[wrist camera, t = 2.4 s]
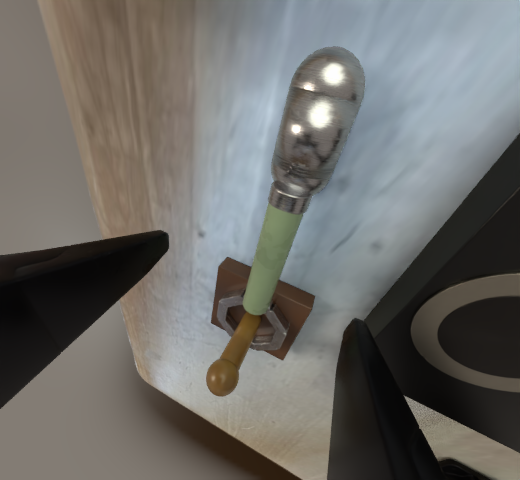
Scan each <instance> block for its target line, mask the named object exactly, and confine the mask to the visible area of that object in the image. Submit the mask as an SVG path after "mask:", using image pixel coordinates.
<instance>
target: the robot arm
mask: <svg viewBox="0 0 520 480" xmlns="http://www.w3.org/2000/svg"><path fill="white" fill-rule="evenodd" d="M168 249H169V235H168V233H166V232H164V231H162V230H157V231H151V232H145V233H139V234H134V235H128V236H122V237H116V238H110V239H105V240H99V241H93V242H87V243H81V244H76V245H71V246H64V247H58V248H52V249H46V250H40V251H31V252H24V253H16V254H8V255H0V409H1V408H2V407H3V406H4V405H5V404H6V403H7V402H8V401H9V400H11V399H12V398H13V397H14V396H15V395H16V394H17V393H18V392H19V391H20V390H21V389H22V388H24V387H25V386H26V385H27V384H28V383H29V382H30V381H31V380H32V379H33V378H34V377H36V376H37V375H38V374H39V373H40V372H41V371H42V370H43V369H44V368H45V367H46V366H47V365H48V364H50V363H51V362H52V361H53V360H54V359H55V358H56V357H57V356H58V355H60V354H61V352H63V350H65V349H66V348H67V347H68V346H69V345H70V344H71V343H72V342H73V341H74V340H75V339H77V338H78V337H79V336H80V335H81V334H82V333H83V332H84V331H85V330H87V329H88V328H89V327H90V326H91V325H92V324H93V323H94V322H95V321H96V320H97V319H98V318H100V317H101V316H102V315H103V314H104V313H105V312H106V311H107V310H108V309H109V308H110V307H111V306H112V305H114V304H115V303H116V302H117V301H118V300H119V299H120V298H121V297H122V296H124V295H125V294H126V293H127V292H128V291H129V290H130V289H131V288H132V287H133V286H134V285H135V284H137V283H138V282H139V281H140V280H141V279H142V278H143V277H144V276H145V275H146V274H147V273H148V272H149V271H150V270H151V269H152V268H153V267H154V265H155V264H156V263H157V262H158V261H159V260H160V259H161V258H162V256H163V255H164V254H165V253H166V252H167V251H168ZM327 480H490V479H488V478H486V477H484V476H483V475H481V474H479V473H477V472H475V471H473V470H471V469H469V468H467V467H466V466H464V465H462V464H460V463H458V462H456V461H453V460H445V461H442V462H438V461H437V459H436V457H435V455H434V453H433V451H432V449H431V448H430V446H429V444H428V442H427V440H426V438H425V436H424V434H423V432H422V430H421V429H419V425H418V423H417V421H416V419H415V417H414V415H413V413H412V411H411V409H410V407H409V405H408V403H407V401H406V400H405V398H404V396H403V394H402V392H401V390H400V388H399V386H398V384H397V382H396V380H395V378H394V376H393V374H392V372H391V370H390V369H389V367H388V365H387V363H386V361H385V359H384V357H383V355H382V353H381V351H380V349H379V347H378V345H377V343H376V341H375V340H374V338H373V336H372V334H371V332H370V330H369V328H368V326H367V324H366V323H365V322H364V321H362V320H359V319H357V318H354V319H353V320H352V321H351V323H350V324H349V325H348V326H347V328H346V329H345V331H344V334H343V339H342V344H341V348H340V353H339V358H338V363H337V369H336V377H335V389H334V401H333V414H332V426H331V438H330V450H329V463H328V475H327Z"/></svg>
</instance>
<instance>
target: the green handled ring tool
mask: <svg viewBox="0 0 520 480" xmlns="http://www.w3.org/2000/svg"><path fill="white" fill-rule="evenodd" d="M364 92H365V76H364V72H363V68H362V66H361V64H360V62H359V60H358V59H357V58H356V57H355V55H354V54H353V53H351V52H350V51H348V50H347V49H344V48H341V47H336V46H333V47H325V48H322V49H319V50H317V51H315V52H313V53H312V54H310V55H309V56H308V57H307V58H306V59H305V60H304V61H303V62H302V63H301V64H300V66H299V67H298V68H297V70H296V72H295V74H294V76H293V78H292V81H291V84H290V86H289V91H288V95H287V99H286V103H285V107H284V112H283V116H282V120H281V124H280V128H279V132H278V137H277V141H276V145H275V149H274V153H273V158H272V164H271V174H272V178H273V180H274V182H273V183H272V185H271V189H270V193H269V197H268V206H267V210H266V214H265V218H264V222H263V225H262V229H261V233H260V237H259V241H258V245H257V249H256V252H255V256H254V260H253V264H252V268H251V272H250V276H249V279H248V283H247V287H246V289H245V288H244V289H240V290H236V291H232V292H227V293H225V294H224V295H223V297H222V298H221V299H220V301H219V305H218V311H217V318H218V321H219V322H220V323H221V325H222V326H223V327H224V329H225V330H226V331H227V333H228V334H229V336H231V337H232V335H233V334H234V332H235V330H236V328H237V327H238V324H237V323H236V321H235V320H234V318H233V317H232V316H231V314H230V309H231V307H232V306H237V305H243V306H244V308H245V310H246V311H247V312H249V313H250V314H253V315H262V314H265V315H266V317H267V318H268V320H269V321H270V323H271V324H272V326H273V328H274V329H275V332H274V335H267V336H256V335H255V336H254V339H253V341H252V343H251V345H250V347H249V348H251V349H253V350H254V349H256V350H257V351H261V350H277V349H280V347H281V345H282V343H283V341H284V339H285V337H286V335H287V333H288V329H289V326H288V325H289V323H288V321H287V320H286V318H285V317H284V315H283V313H282V312H281V310H280V309H279V307H278V306H277V304H276V303H274V304H273V301H272V300H271V299H272V297H273V294H274V291H275V289H276V286H277V283H278V281H279V278H280V275H281V273H282V270H283V267H284V265H285V262H286V259H287V257H288V254H289V251H290V249H291V246H292V243H293V241H294V238H295V235H296V233H297V230H298V227H299V225H300V222H301V219H302V217H303V214H304V213H305V212H306V211H307V209H308V206H309V204H310V201H311V199H312V196H314V195H315V194H317V193H319V192H320V191H321V190H322V189H323V188H324V187H325V186H326V185H327V184H328V182H329V180H330V178H331V176H332V174H333V171H334V169H335V167H336V164H337V162H338V159H339V157H340V154H341V152H342V150H343V147H344V145H345V142H346V140H347V138H348V135H349V133H350V130H351V128H352V125H353V123H354V121H355V118H356V116H357V113H358V111H359V109H360V106H361V103H362V100H363V97H364Z"/></svg>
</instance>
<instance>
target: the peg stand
mask: <svg viewBox="0 0 520 480" xmlns="http://www.w3.org/2000/svg"><path fill="white" fill-rule="evenodd" d="M250 272H251V267H249V266H247V265H244V264H242V263H240V262H238V261H235V260H233V259H231V258H229V257H227V258H226V259H225V260H224V261H223V262H222V263H221V265H220V266H219V268H218V275H217V282H216V290H215V297H214V304H213V311H212V319H211V323H212V324H214V325H216V326H218V327H220V328H222V329H223V330H225V329H224V327H223V326H222V325H221V323H220V322H219V321H218V318H217V311H218V305H219V301H220V299H221V298H222V297H223V295H224V294H225V293H227V292H232V291H236V290H240V289H244V288H245V289H246V287H247V283H248V279H249V276H250ZM314 299H315V296H314V295H312V294H309V293H307V292H305V291H303V290H301V289H298V288H296V287H294V286H292V285H289V284H287V283H285V282H283V281H280V280H279V281H278V283H277V286H276V289H275V291H274V294H273V297H272V299H271V300H272V301H273V304H274V303H276V304H277V306H278V307H279V309H280V310H281V312H282V313H283V315H284V317H285V318H286V320H287V321H288V323H289V325H288V326H289V329H288V333H287V335H286V337H285V339H284V341H283V343H282V345H281V347H280V349H277V350H264V351H266V352H267V353H269V354H271V355H273V356H275V357H277V358H279V359H281V360H284V358H285V356H286V354H287V353H288V351H289V349H290V347H291V346H292V344H293V342H294V340H295V338H296V337H297V335H298V333H299V331H300V330H301V328H302V326H303V324H304V323H305V321H306V319H307V317H308V315H309V314H310V312H311V310H312V307H313V303H314ZM230 314H231V316H232V317H233V318H234V320H235V321H236V323H237V324H238V327H237V328H236V330H235V332H234V334H233V335H232V337H231V339H230V341H229V343H228V344H227V346H226V348H225V350H224V351H223V353H222V355H221V357H220V358H219V359H218V360H216V361H215V362H213V363H212V365H211V366H210V367H209V369H208V372H207V376H206V382H207V386H208V388H209V390H210V391H211V392H212V393H213V394H214V395H216V396H226V395H228V394H230V393H231V392H232V391H233V390H234V389H235V388H236V386H237V383H238V380H239V369H240V367H241V364H242V362H243V360H244V358H245V356H246V354H247V351H248V349H249V347H250V345H251V343H252V341H253V339H254V336H255V335H256V336H267V335H274V332H275V329H274V328H273V326H272V324H271V323H270V321H269V320H268V318H267V317H266V315H265V314H262V315H253V314H250V313H249V312H247V311H246V310H245V308H244V306H243V305H237V306H232V307H231V309H230ZM225 331H226V330H225Z"/></svg>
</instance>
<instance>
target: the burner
mask: <svg viewBox="0 0 520 480" xmlns="http://www.w3.org/2000/svg"><path fill="white" fill-rule="evenodd" d="M410 330H411V337H412V340H413V343H414V345H415V347H416V349H417V350H418V352H419V353H420V354H421V355H422V356H423V357H424V358H425V359H426V360H427V361H428V362H429V363H430V364H432V365H433V366H434V367H436V368H437V369H439V370H441V371H442V372H444V373H446V374H448V375H450V376H452V377H455V378H457V379H459V380H462V381H465V382H468V383H471V384H474V385H478V386H482V387H486V388H491V389H496V390H502V391H509V392H520V272H505V273H496V274H489V275H484V276H479V277H474V278H471V279H467V280H464V281H461V282H458V283H455V284H453V285H450V286H448V287H446V288H444V289H442V290H440V291H438V292H437V293H435V294H433V295H432V296H430V297H429V298H428V299H427V300H426V301H424V302H423V303H422V304H421V305H420V307H419V308H418V309H417V311H416V312H415V314H414V316H413V318H412V321H411V328H410Z"/></svg>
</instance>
